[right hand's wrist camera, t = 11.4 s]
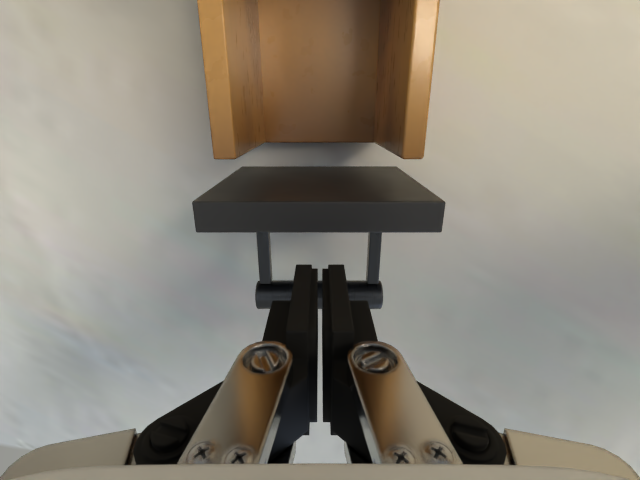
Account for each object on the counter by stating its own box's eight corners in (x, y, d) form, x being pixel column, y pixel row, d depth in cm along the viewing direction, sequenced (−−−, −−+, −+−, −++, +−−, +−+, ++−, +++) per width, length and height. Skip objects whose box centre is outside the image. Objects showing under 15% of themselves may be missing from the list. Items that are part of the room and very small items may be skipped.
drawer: (388, 273, 23) (425, 360, 15) (250, 273, 23) (212, 360, 15) (430, -273, 14) (572, -767, 6) (207, -273, 14) (63, -765, 6)
